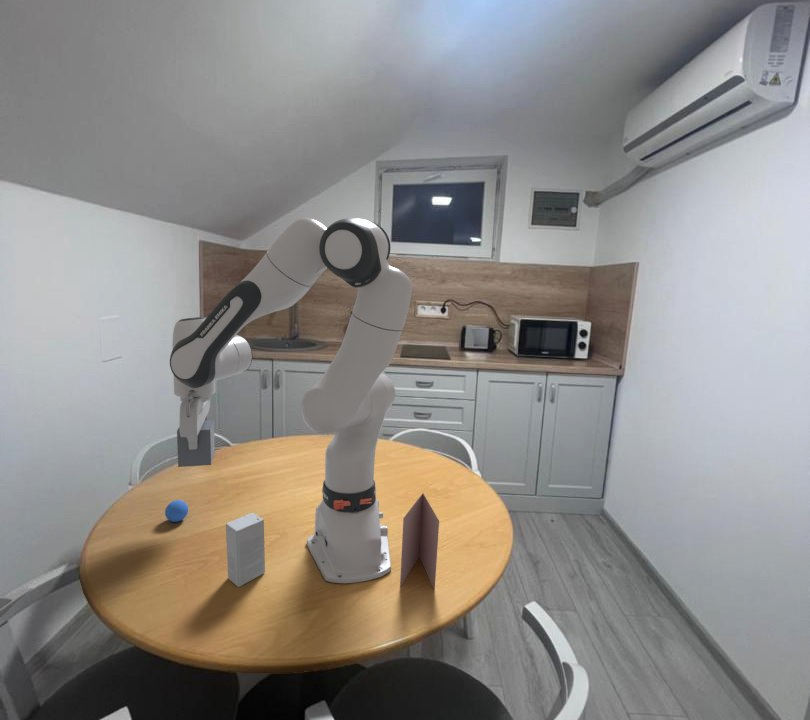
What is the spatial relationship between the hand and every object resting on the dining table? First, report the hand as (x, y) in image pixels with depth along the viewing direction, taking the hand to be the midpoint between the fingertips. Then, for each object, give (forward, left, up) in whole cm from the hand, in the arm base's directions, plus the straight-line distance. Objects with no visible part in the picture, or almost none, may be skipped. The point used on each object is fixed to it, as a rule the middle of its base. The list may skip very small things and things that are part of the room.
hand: (196, 441), depth 104 cm
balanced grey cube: (0, 0, -5) cm, 5 cm away
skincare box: (-25, -12, -20) cm, 34 cm away
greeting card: (-33, -47, -20) cm, 61 cm away
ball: (0, +5, -17) cm, 18 cm away
